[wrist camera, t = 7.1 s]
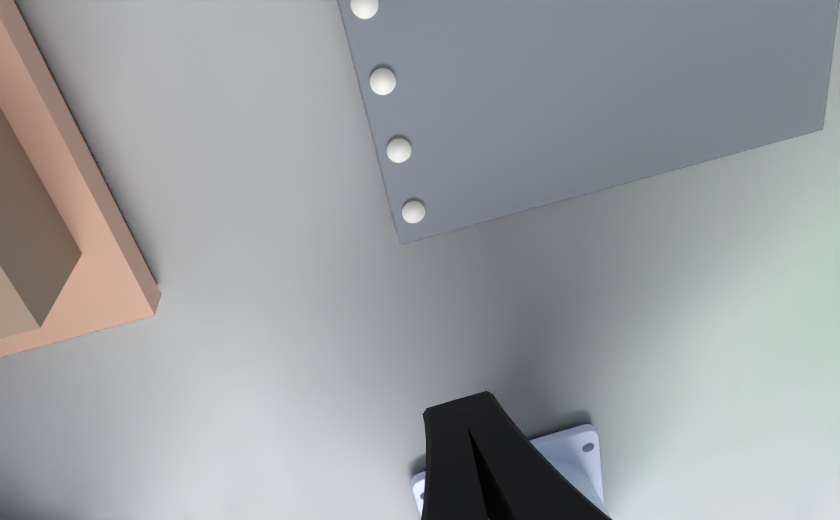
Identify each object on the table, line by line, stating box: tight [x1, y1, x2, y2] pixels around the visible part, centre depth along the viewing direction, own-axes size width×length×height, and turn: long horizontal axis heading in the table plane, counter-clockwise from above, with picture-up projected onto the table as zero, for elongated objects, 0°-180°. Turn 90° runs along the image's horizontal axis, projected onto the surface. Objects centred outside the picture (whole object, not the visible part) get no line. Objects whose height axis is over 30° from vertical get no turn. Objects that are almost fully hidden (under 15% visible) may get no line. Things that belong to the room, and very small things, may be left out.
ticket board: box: [337, 0, 840, 245], centre depth 18 cm, size 10×14×1 cm
